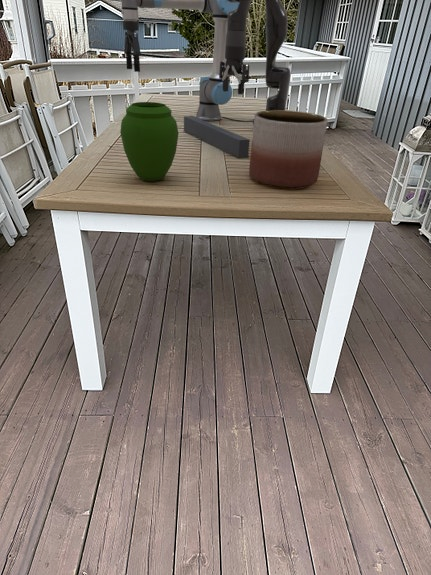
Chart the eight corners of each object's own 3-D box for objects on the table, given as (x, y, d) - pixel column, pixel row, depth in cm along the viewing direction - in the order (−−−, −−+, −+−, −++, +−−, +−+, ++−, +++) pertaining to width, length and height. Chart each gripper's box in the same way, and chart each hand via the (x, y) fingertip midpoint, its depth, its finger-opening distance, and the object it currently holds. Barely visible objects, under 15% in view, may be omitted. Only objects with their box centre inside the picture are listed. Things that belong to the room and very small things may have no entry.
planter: (327, 190, 144) (341, 124, 132) (258, 191, 139) (265, 122, 128) (303, 169, 165) (312, 110, 153) (241, 169, 161) (246, 109, 149)
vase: (131, 189, 135) (125, 110, 122) (118, 172, 150) (112, 100, 137) (186, 184, 142) (187, 109, 129) (169, 168, 157) (167, 99, 144)
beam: (183, 131, 217) (183, 116, 213) (192, 130, 219) (192, 115, 215) (238, 158, 176) (239, 140, 172) (248, 157, 178) (249, 139, 174)
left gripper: (116, 20, 205) (119, 68, 216) (130, 20, 186) (133, 72, 197) (130, 20, 208) (133, 68, 219) (145, 21, 189) (148, 72, 200)
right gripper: (256, 46, 150) (252, 94, 158) (229, 43, 158) (227, 90, 167) (241, 46, 145) (238, 96, 154) (215, 43, 154) (213, 91, 163)
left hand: (133, 70), depth 208 cm, fingers open, 13 cm apart
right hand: (232, 92), depth 161 cm, fingers open, 8 cm apart
